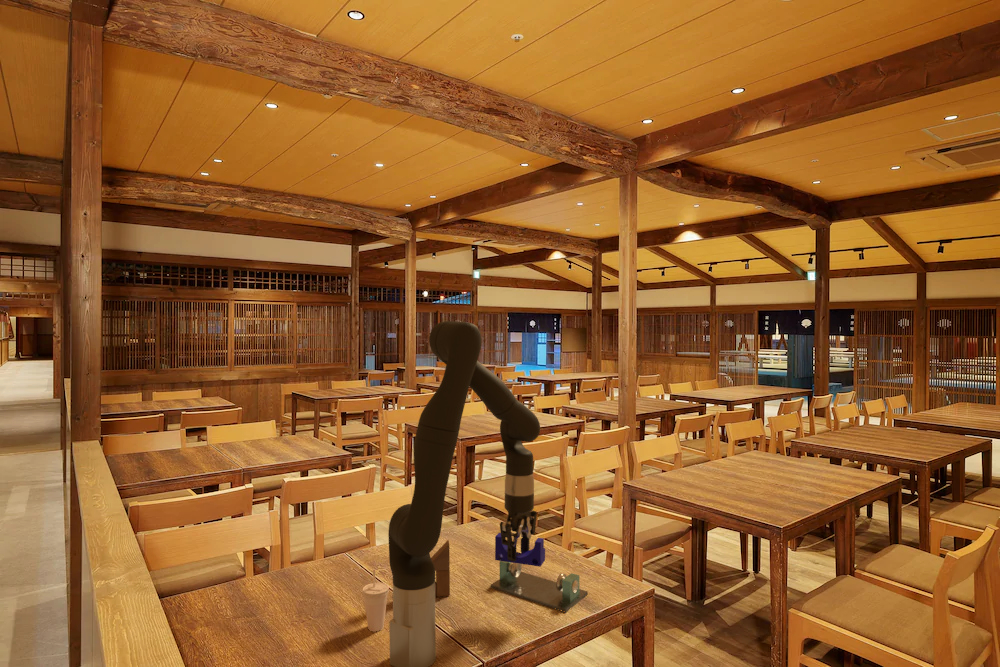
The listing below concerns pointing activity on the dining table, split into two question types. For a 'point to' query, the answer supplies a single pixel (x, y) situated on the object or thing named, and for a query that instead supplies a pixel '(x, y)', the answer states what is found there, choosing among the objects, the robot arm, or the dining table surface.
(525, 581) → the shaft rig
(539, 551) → the blue curved bracket
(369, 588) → the smoothie
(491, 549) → the dining table surface
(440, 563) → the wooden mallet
